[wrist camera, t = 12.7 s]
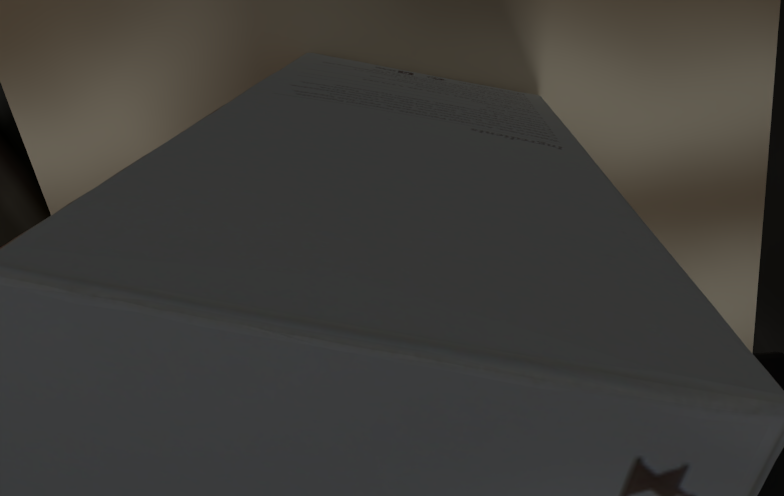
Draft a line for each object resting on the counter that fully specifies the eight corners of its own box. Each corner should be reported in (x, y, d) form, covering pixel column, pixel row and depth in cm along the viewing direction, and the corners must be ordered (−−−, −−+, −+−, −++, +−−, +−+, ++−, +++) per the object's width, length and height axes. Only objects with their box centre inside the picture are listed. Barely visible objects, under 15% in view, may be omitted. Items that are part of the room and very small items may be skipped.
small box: (303, 47, 16) (-68, 245, 4) (546, 92, 16) (845, 409, 4) (274, 318, 19) (16, 859, 8) (477, 354, 20) (540, 950, 8)
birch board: (724, 432, 22) (743, 462, 20) (176, 473, 24) (161, 502, 23) (769, -281, 14) (805, -308, 13) (-37, -119, 17) (-80, -128, 15)
